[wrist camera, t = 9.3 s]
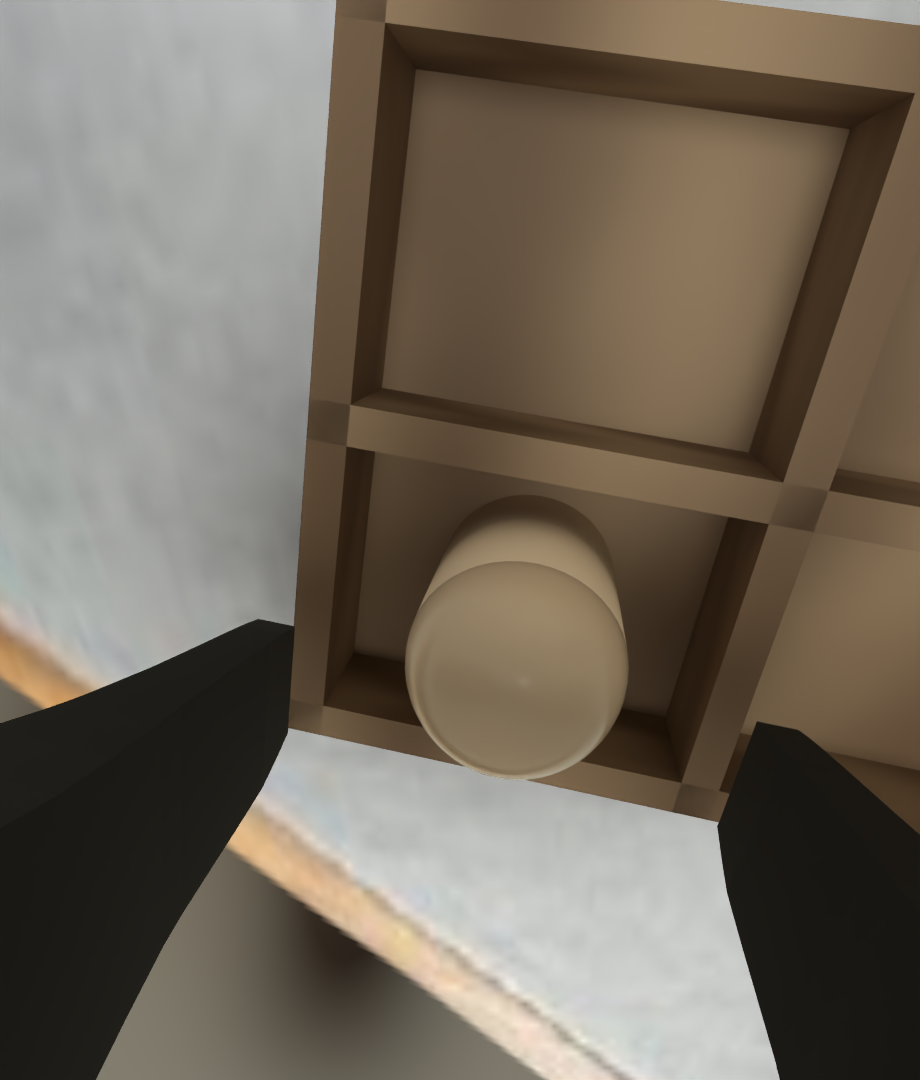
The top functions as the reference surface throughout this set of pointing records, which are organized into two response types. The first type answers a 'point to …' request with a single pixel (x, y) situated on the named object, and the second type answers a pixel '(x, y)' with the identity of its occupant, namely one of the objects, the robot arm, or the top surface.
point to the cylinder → (519, 641)
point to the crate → (628, 365)
